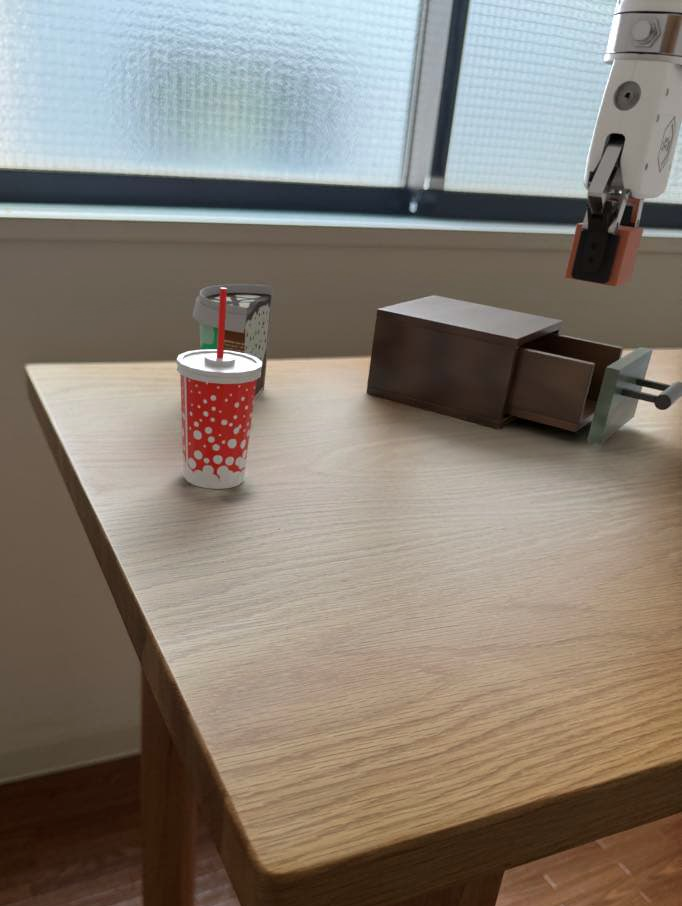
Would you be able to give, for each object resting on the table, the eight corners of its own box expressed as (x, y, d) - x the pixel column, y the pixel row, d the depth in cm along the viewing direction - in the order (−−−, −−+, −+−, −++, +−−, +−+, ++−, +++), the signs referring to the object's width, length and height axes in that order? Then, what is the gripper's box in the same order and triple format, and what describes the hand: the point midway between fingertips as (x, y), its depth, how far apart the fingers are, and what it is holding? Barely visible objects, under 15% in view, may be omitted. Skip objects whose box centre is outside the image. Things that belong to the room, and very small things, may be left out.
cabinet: (544, 402, 90) (563, 320, 86) (498, 429, 80) (517, 338, 77) (421, 371, 97) (433, 295, 93) (365, 393, 88) (377, 308, 84)
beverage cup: (269, 485, 64) (284, 295, 58) (196, 498, 61) (204, 298, 54) (229, 457, 68) (239, 278, 62) (159, 468, 65) (163, 280, 59)
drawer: (679, 428, 82) (700, 359, 79) (649, 457, 74) (672, 381, 71) (505, 385, 91) (519, 322, 88) (461, 407, 83) (474, 338, 80)
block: (629, 281, 77) (643, 228, 75) (615, 286, 74) (630, 231, 72) (580, 273, 80) (592, 221, 78) (564, 277, 76) (576, 223, 74)
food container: (209, 377, 88) (214, 278, 84) (267, 385, 87) (274, 285, 83) (172, 411, 77) (175, 300, 73) (238, 421, 76) (245, 308, 72)
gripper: (681, 34, 60) (613, 295, 69) (724, 59, 73) (663, 277, 81) (577, 30, 64) (524, 279, 72) (636, 55, 77) (585, 264, 85)
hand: (598, 275), depth 77 cm, fingers closed on block, 4 cm apart
